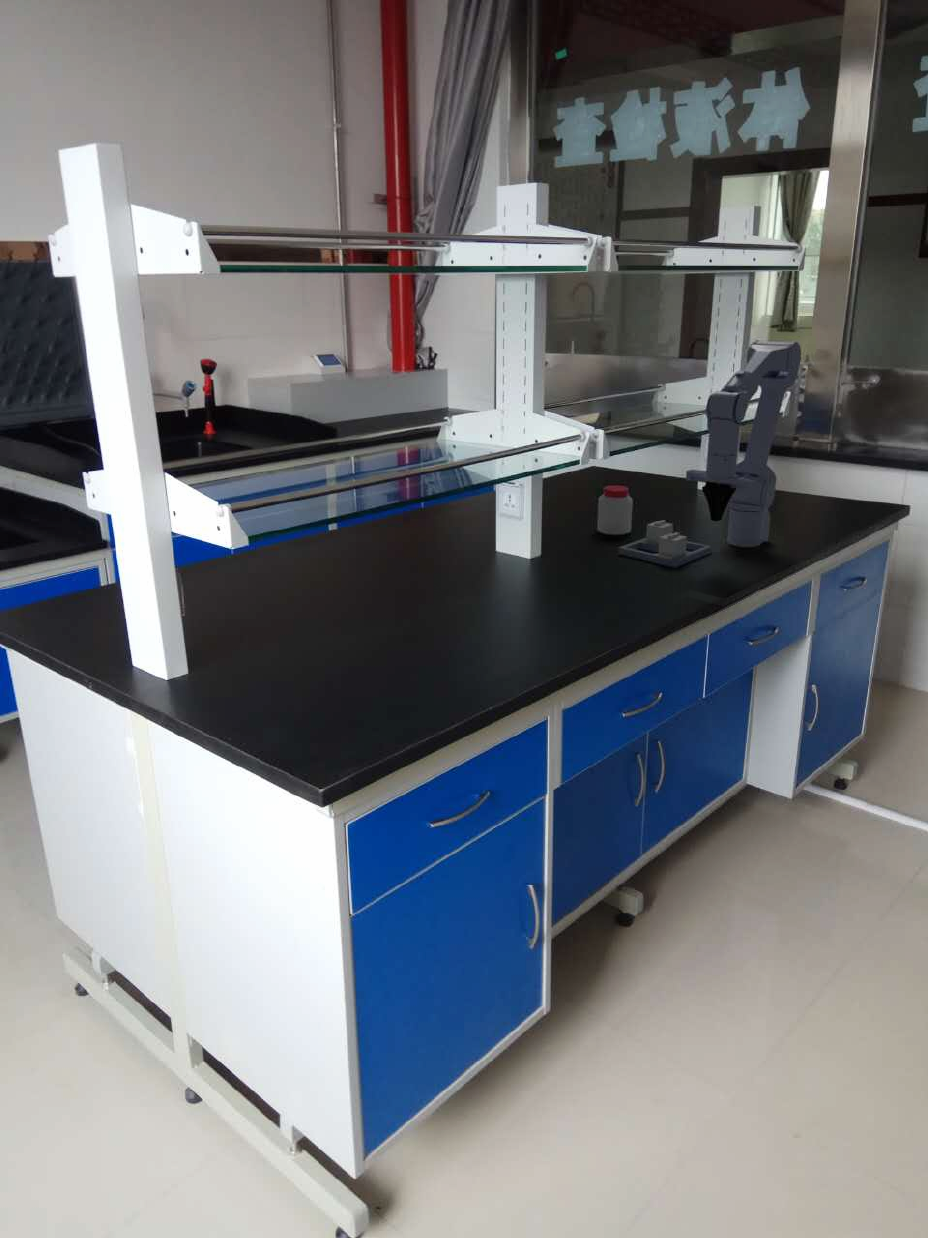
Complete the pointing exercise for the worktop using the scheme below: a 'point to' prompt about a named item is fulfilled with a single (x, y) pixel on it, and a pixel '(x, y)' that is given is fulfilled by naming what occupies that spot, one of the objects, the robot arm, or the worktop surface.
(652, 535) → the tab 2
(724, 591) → the worktop surface
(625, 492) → the pill bottle
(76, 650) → the worktop surface
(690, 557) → the dark blue tray
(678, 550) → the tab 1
